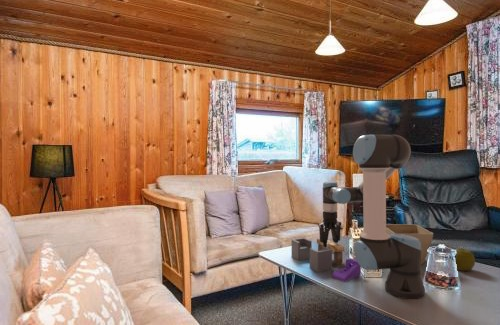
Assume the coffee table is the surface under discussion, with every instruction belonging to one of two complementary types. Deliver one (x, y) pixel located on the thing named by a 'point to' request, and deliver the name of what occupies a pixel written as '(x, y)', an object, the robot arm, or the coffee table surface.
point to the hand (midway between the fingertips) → (329, 254)
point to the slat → (332, 246)
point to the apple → (464, 260)
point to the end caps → (312, 254)
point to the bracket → (348, 270)
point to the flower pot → (413, 235)
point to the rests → (337, 255)
